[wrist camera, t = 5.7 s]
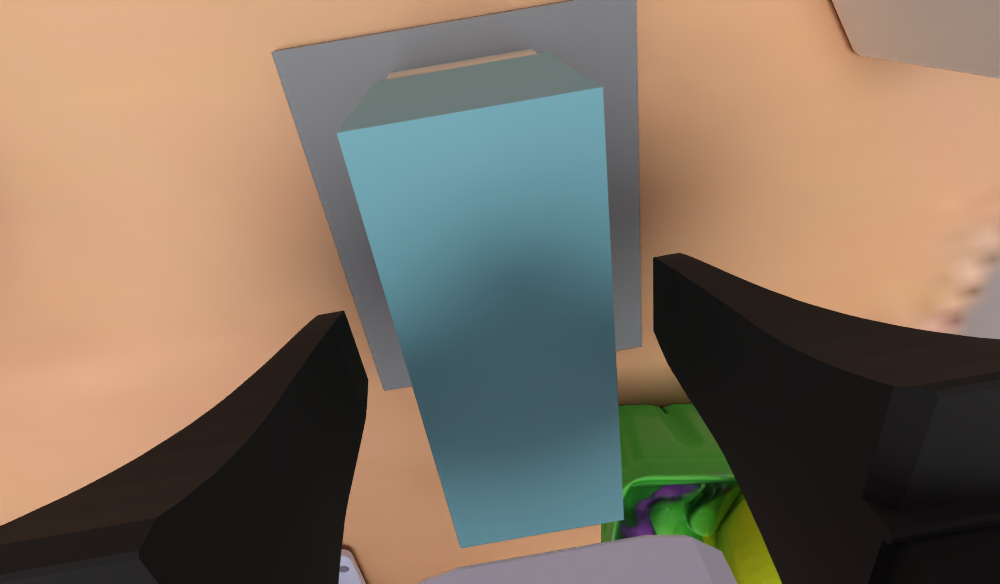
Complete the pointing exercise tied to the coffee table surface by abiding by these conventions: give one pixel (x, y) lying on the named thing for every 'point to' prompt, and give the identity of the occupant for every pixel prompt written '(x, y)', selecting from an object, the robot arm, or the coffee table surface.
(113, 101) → the coffee table surface
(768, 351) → the robot arm
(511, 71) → the lintel
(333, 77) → the build plate
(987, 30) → the medicine bottle
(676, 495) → the fruit basket
